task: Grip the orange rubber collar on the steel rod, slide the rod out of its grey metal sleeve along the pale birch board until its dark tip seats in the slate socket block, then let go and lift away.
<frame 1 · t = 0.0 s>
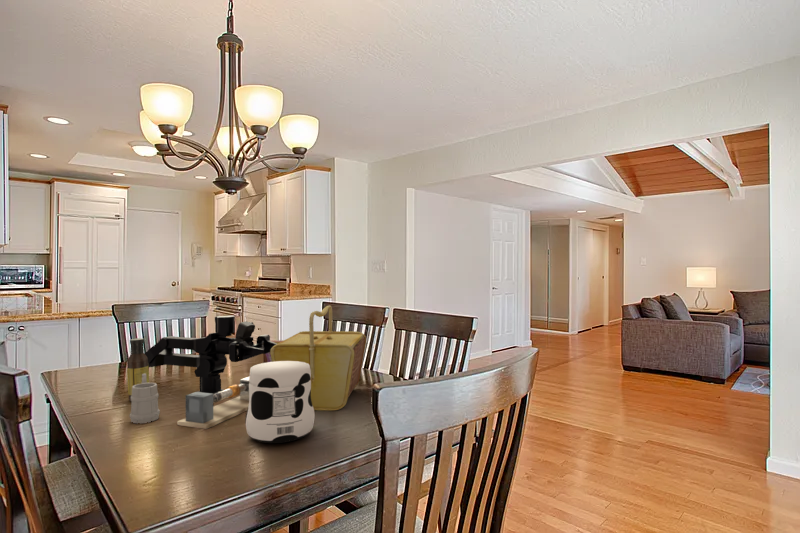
hand: (272, 349, 157), 17 cm above the table, tool horizontal, fingers open, 9 cm apart
sauce bottle: (138, 399, 158), on the table
board: (253, 400, 156), on the table
candy box: (276, 381, 182), on the table
milk container: (280, 436, 124), on the table
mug: (144, 418, 139), on the table
sleeve: (253, 386, 157), on the board, point 4 cm above the table
picnic basket: (322, 399, 157), on the table
socket: (199, 407, 133), on the board, point 4 cm above the table
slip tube: (239, 388, 149), point 5 cm above the table, slide at 0.0 cm
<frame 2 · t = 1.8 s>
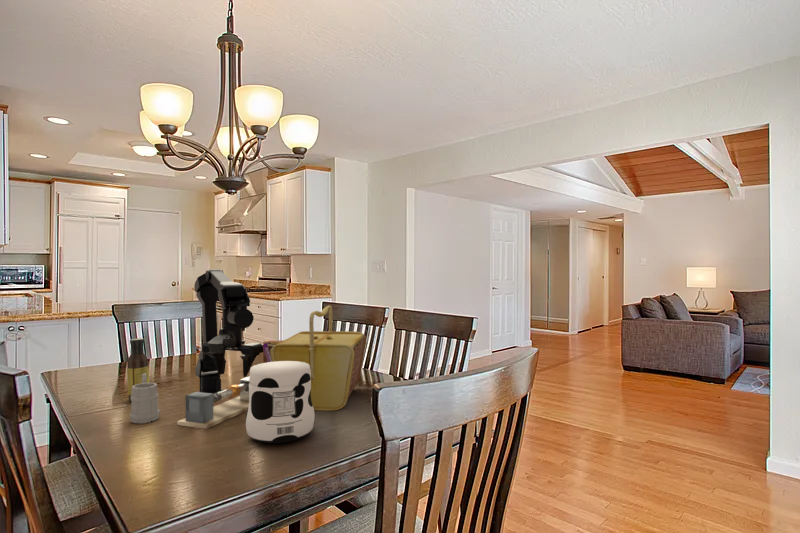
hand: (232, 375, 147), 10 cm above the table, tool pointing down, fingers open, 9 cm apart
nothing on the table moved.
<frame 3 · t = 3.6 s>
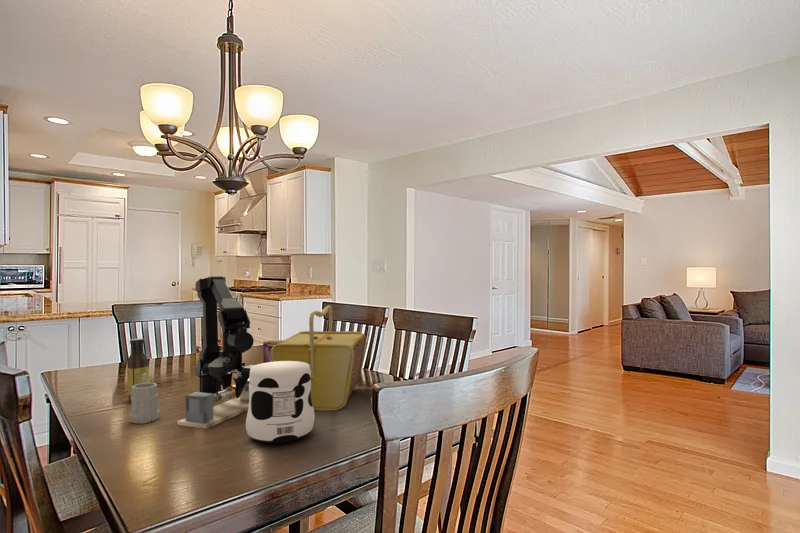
hand: (232, 397, 147), 4 cm above the table, tool pointing down, fingers closed on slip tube, 3 cm apart
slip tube: (239, 388, 149), point 6 cm above the table, slide at 0.0 cm, touching gripper
everything else where it was.
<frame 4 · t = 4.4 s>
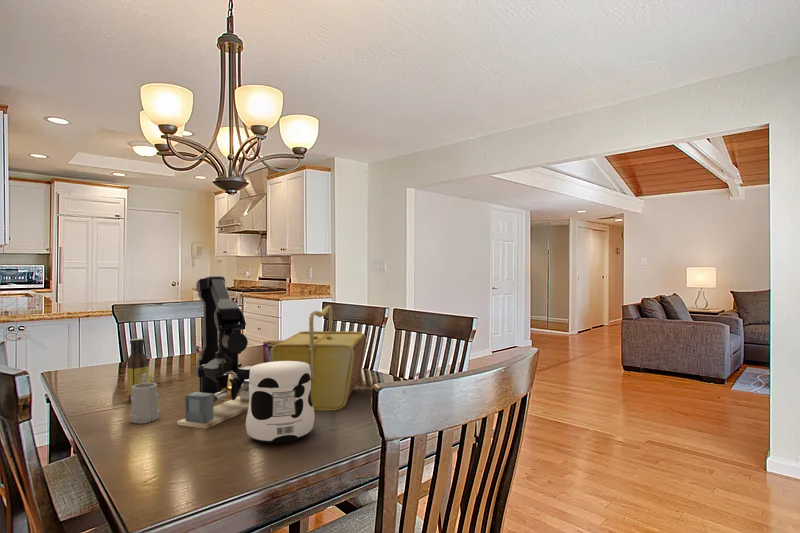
hand: (228, 399, 145), 4 cm above the table, tool pointing down, fingers closed on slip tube, 3 cm apart
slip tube: (235, 390, 148), point 5 cm above the table, slide at 1.9 cm, touching gripper
everything else where it was.
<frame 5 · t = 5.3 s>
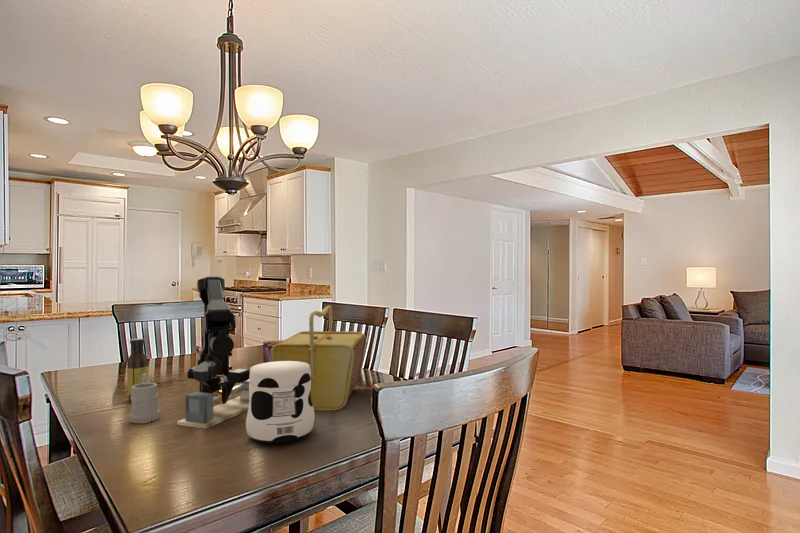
hand: (219, 403, 141), 4 cm above the table, tool pointing down, fingers closed on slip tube, 3 cm apart
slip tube: (226, 393, 144), point 5 cm above the table, slide at 6.1 cm, touching gripper
everything else where it was.
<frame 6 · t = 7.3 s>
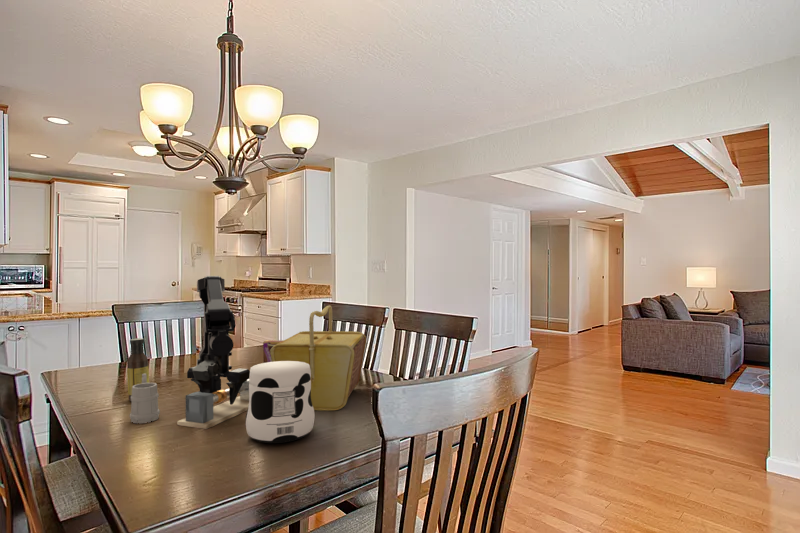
hand: (218, 402, 141), 4 cm above the table, tool pointing down, fingers open, 9 cm apart
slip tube: (225, 393, 144), point 5 cm above the table, slide at 6.2 cm
everything else where it was.
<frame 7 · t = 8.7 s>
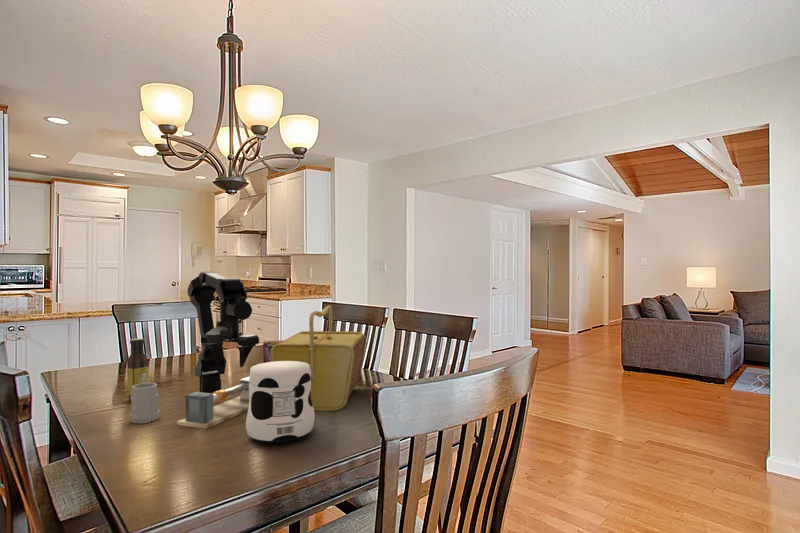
hand: (229, 365, 153), 12 cm above the table, tool pointing down, fingers open, 9 cm apart
nothing on the table moved.
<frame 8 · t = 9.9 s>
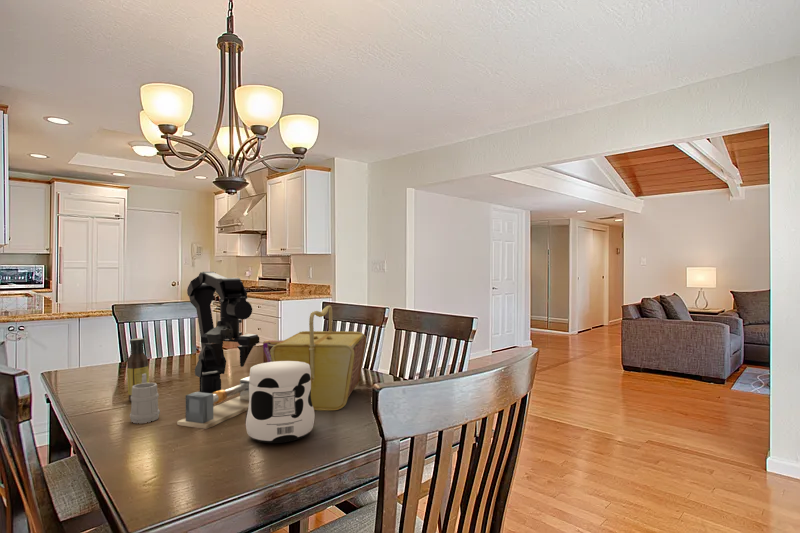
hand: (230, 365, 153), 12 cm above the table, tool pointing down, fingers open, 9 cm apart
nothing on the table moved.
at the end: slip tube slide at 6.2 cm; the gripper is holding nothing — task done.
